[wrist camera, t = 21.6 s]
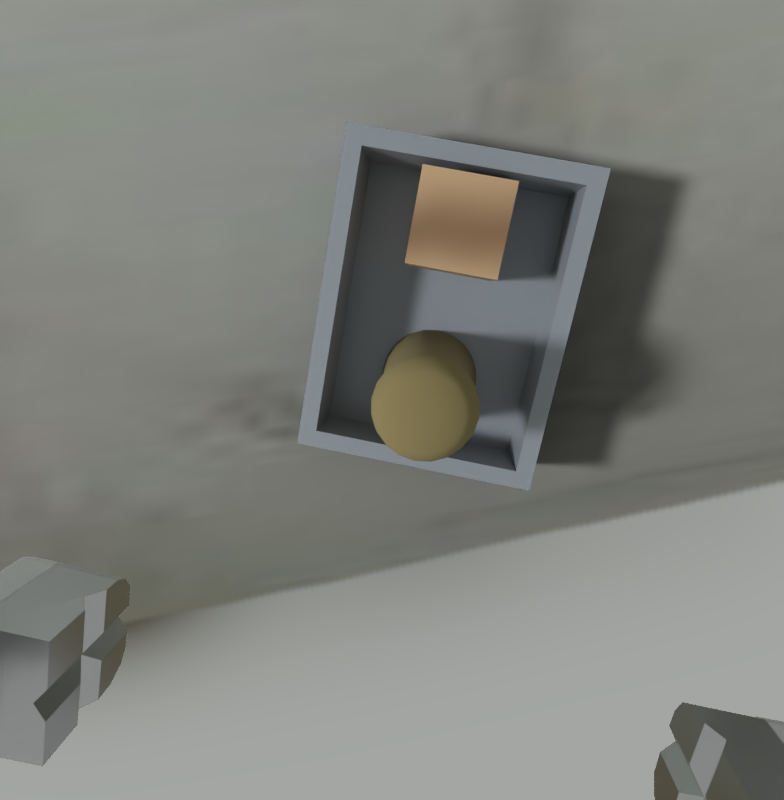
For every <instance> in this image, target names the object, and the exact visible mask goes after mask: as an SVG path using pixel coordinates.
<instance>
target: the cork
mask: <svg viewBox="0 0 784 800" xmlns="http://www.w3.org/2000/svg"><path fill="white" fill-rule="evenodd" d="M475 385H476V368H475V364H474V361H473V357H472V355H471V354H470V352H469V351H468V349H467V348H466V347H465V345H464V344H463V343H462V342H460V341H459V340H458V339H456V338H455V337H454V336H453V335H450V334H447V333H444V332H442V331H439V330H421V331H418V332H415V333H411V334H408V335H407V336H406V337H404V338H403V339H401V340H400V341H398V342H397V343H396V344H395V346H394V347H393V348H392V350H391V351H390V352H389V354H388V356H387V358H386V361H385V364H384V367H383V375H382V376H381V378H380V379H379V380H378V382H377V383H376V386H375V389H374V392H373V395H372V398H371V416H372V419H373V422H374V425H375V429H376V431H377V433H378V434H379V436H380V437H381V438H382V440H383V441H384V443H385V444H386V445H387V446H388V447H389V448H390V449H392V450H393V451H394V452H396V453H397V454H398V455H400V456H403V457H405V458H408V459H411V460H414V461H428V462H432V461H436V460H439V459H443V458H447V457H449V456H450V455H452V454H453V453H455V452H456V451H458V450H460V449H461V448H462V447H463V446H464V445H465V443H466V442H467V441H468V440H469V439H470V437H471V436H472V435H473V433H474V430H475V428H476V425H477V423H478V420H479V409H480V401H479V397H478V394H477V390H476V387H475Z"/></svg>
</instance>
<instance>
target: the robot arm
mask: <svg viewBox="0 0 784 800" xmlns="http://www.w3.org/2000/svg"><path fill="white" fill-rule="evenodd" d="M130 587H131V585H130V584H129V582H128V581H127V580H126V578H122V577H118V576H114V575H110V574H106V573H101V572H97V571H93V570H89V569H85V568H81V567H77V566H73V565H69V564H65V563H64V564H62V563H60V562H56V561H52V560H47V559H42V558H38V557H33V556H31V557H22V558H20V559H18V560H17V561H15V562H14V563H12V564H11V565H9V566H7V567H6V568H4V569H3V570H1V571H0V758H6V759H11V760H15V761H20V762H25V763H30V764H35V765H40V766H43V765H44V764H45V763H46V762H47V760H48V759H49V758H50V757H51V755H52V754H53V753H54V752H55V751H56V750H57V748H58V747H59V746H60V745H61V744H62V742H63V741H64V740H65V739H66V737H67V736H68V735H69V734H70V733H71V732H72V731H73V729H74V728H75V727H76V726H77V721H78V710H79V708H81V707H84V706H86V705H88V704H90V703H92V702H94V701H96V700H98V699H99V698H100V696H101V695H102V694H103V693H104V692H105V690H106V689H107V688H108V687H109V685H110V684H111V682H112V680H113V678H114V676H115V674H116V672H117V670H118V668H119V666H120V664H121V662H122V658H123V654H124V651H125V647H126V639H127V630H126V629H125V627H124V625H123V623H122V622H121V620H120V618H119V616H120V615H121V614H122V613H123V612H124V611H125V609H126V608H127V607H128V606H129V605H130ZM670 728H671V730H672V733H673V735H674V738H675V740H676V741H675V742H674V743H672V744H671V745H670V746H668V747H667V748H665V749H664V750H663V751H661V752H660V755H659V758H658V761H657V765H656V768H655V771H654V797H655V800H784V722H782V721H777V720H771V719H766V718H760V717H750V716H746V715H741V714H736V713H731V712H726V711H721V710H717V709H712V708H707V707H703V706H697V705H693V704H688V703H682V704H681V705H680V706H679V707H678V708H677V709H676V710H675V712H674V715H673V717H672V720H671V723H670Z"/></svg>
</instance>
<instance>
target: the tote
mask: <svg viewBox="0 0 784 800" xmlns="http://www.w3.org/2000/svg"><path fill="white" fill-rule="evenodd" d="M423 164H426V165H432V166H437V167H443V168H449V169H454V170H460V171H465V172H471V173H477V174H482V175H488V176H494V177H499V178H505V179H510V180H516V181H519V185H518V189H517V194H516V198H515V203H514V207H513V212H512V216H511V221H510V225H509V230H508V234H507V239H506V244H505V248H504V253H503V257H502V262H501V266H500V271H499V275H498V280H493V281H487V280H482V279H476V278H471V277H466V276H460V275H455V274H450V273H444V272H439V271H434V270H428V269H423V268H418V267H412V266H409V265H407V264H406V263H405V258H406V252H407V247H408V241H409V236H410V230H411V225H412V219H413V214H414V208H415V203H416V198H417V192H418V187H419V181H420V176H421V170H422V165H423ZM610 170H611V168H606V167H600V166H595V165H589V164H583V163H578V162H572V161H566V160H560V159H555V158H549V157H543V156H538V155H532V154H526V153H521V152H515V151H509V150H503V149H498V148H492V147H486V146H481V145H475V144H469V143H463V142H458V141H452V140H446V139H441V138H435V137H429V136H424V135H418V134H412V133H406V132H401V131H395V130H389V129H384V128H378V127H372V126H366V125H361V124H355V123H349V122H346V127H345V134H344V140H343V147H342V153H341V160H340V167H339V173H338V180H337V186H336V193H335V199H334V206H333V213H332V219H331V226H330V232H329V239H328V245H327V252H326V258H325V265H324V272H323V278H322V285H321V291H320V298H319V304H318V311H317V318H316V324H315V331H314V337H313V344H312V350H311V357H310V364H309V370H308V377H307V383H306V390H305V396H304V403H303V409H302V416H301V423H300V429H299V436H298V442H297V443H299V444H304V445H309V446H314V447H318V448H323V449H328V450H333V451H338V452H343V453H348V454H353V455H357V456H362V457H367V458H372V459H377V460H382V461H387V462H392V463H396V464H401V465H406V466H411V467H416V468H421V469H426V470H431V471H436V472H440V473H445V474H450V475H455V476H460V477H465V478H470V479H475V480H479V481H484V482H489V483H494V484H499V485H504V486H509V487H514V488H519V489H523V490H528V491H529V489H530V485H531V481H532V478H533V474H534V470H535V466H536V462H537V458H538V454H539V450H540V446H541V442H542V438H543V434H544V430H545V426H546V422H547V418H548V414H549V411H550V407H551V403H552V399H553V395H554V391H555V387H556V383H557V379H558V375H559V371H560V367H561V363H562V359H563V355H564V351H565V348H566V344H567V340H568V336H569V332H570V328H571V324H572V320H573V316H574V312H575V308H576V304H577V300H578V296H579V292H580V288H581V284H582V281H583V277H584V273H585V269H586V265H587V261H588V257H589V253H590V249H591V245H592V241H593V237H594V233H595V229H596V225H597V221H598V217H599V214H600V210H601V206H602V202H603V198H604V194H605V190H606V186H607V182H608V178H609V174H610ZM421 330H439V331H442V332H444V333H447V334H450V335H453V336H454V337H455V338H456V339H458V340H459V341H460V342H462V343H463V344H464V345H465V347H466V348H467V349H468V351H469V352H470V354H471V355H472V357H473V361H474V364H475V368H476V385H475V387H476V390H477V394H478V397H479V401H480V409H479V420H478V423H477V425H476V428H475V430H474V433H473V435H472V436H471V437H470V439H469V440H468V441H467V442H466V443H465V445H464V446H463V447H462V448H461V449H460V450H458V451H456V452H455V453H453V454H452V455H450V456H449V457H447V458H443V459H439V460H436V461H432V462H428V461H414V460H411V459H408V458H405V457H403V456H400V455H398V454H397V453H396V452H394V451H393V450H392V449H390V448H389V447H388V446H387V445H386V444H385V443H384V441H383V440H382V438H381V437H380V436H379V434H378V433H377V431H376V429H375V425H374V422H373V419H372V416H371V398H372V395H373V392H374V389H375V386H376V383H377V382H378V380H379V379H380V378H381V376H382V375H383V367H384V364H385V361H386V358H387V356H388V354H389V352H390V351H391V350H392V348H393V347H394V346H395V344H396V343H397V342H398V341H400V340H401V339H403V338H404V337H406V336H407V335H408V334H411V333H415V332H418V331H421Z"/></svg>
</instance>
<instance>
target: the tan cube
mask: <svg viewBox="0 0 784 800" xmlns="http://www.w3.org/2000/svg"><path fill="white" fill-rule="evenodd" d="M518 185H519V181H516V180H510V179H505V178H499V177H494V176H488V175H482V174H477V173H471V172H465V171H460V170H454V169H449V168H443V167H437V166H432V165H426V164H423V165H422V170H421V176H420V181H419V187H418V192H417V198H416V203H415V208H414V214H413V219H412V225H411V230H410V236H409V241H408V247H407V252H406V258H405V263H406V264H407V265H409V266H412V267H418V268H423V269H428V270H434V271H439V272H444V273H450V274H455V275H460V276H466V277H471V278H476V279H482V280H487V281H493V280H498V275H499V271H500V266H501V262H502V257H503V253H504V248H505V244H506V239H507V234H508V230H509V225H510V221H511V216H512V212H513V207H514V203H515V198H516V194H517V189H518Z"/></svg>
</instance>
